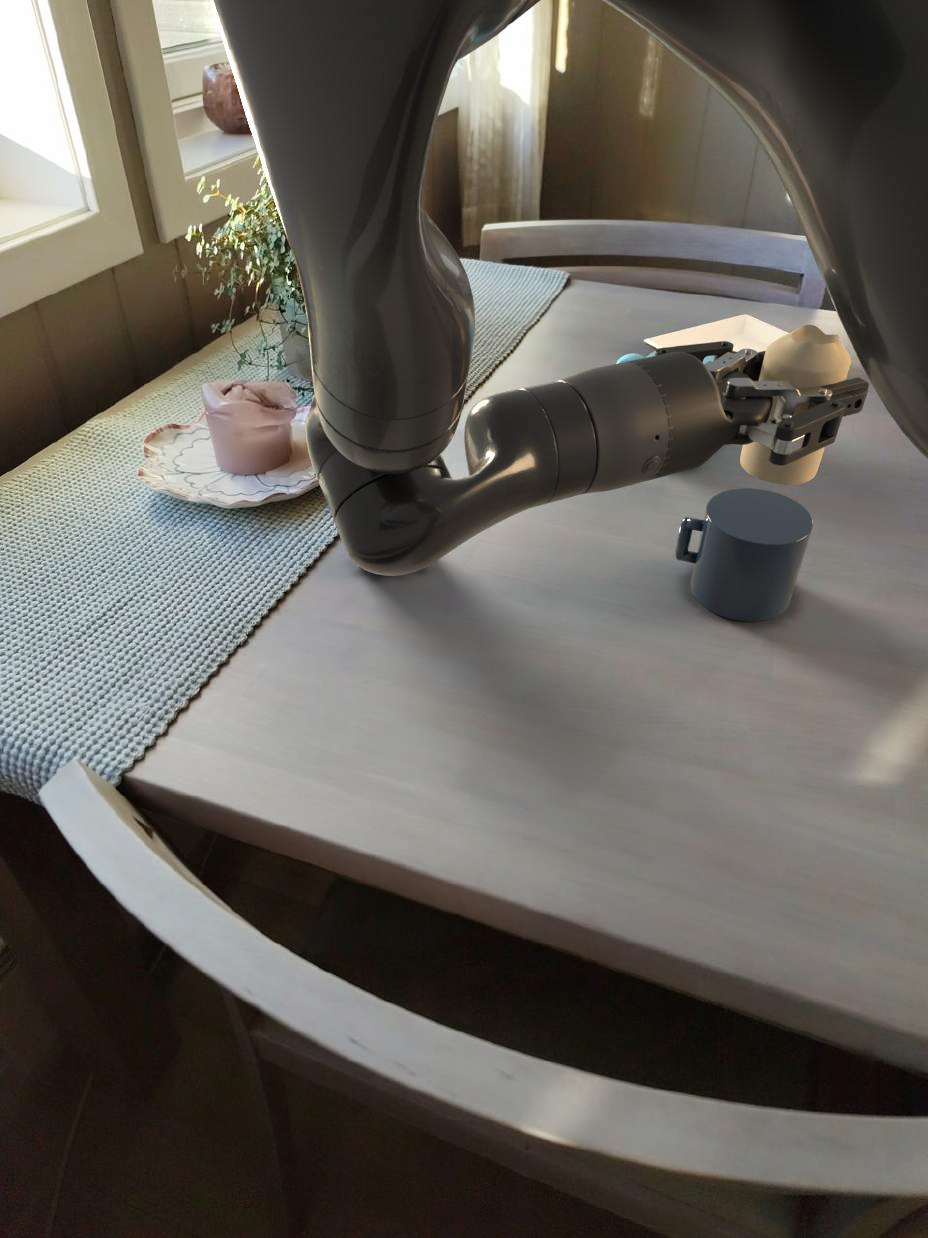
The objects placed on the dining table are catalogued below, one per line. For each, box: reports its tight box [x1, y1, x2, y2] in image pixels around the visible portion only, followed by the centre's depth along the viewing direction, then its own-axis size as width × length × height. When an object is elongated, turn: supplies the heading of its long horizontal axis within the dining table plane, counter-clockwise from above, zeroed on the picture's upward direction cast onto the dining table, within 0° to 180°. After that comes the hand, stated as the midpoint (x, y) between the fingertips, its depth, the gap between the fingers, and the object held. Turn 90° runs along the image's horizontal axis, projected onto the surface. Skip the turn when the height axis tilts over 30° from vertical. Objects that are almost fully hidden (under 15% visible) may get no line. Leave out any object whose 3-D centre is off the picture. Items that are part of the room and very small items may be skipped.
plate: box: [643, 314, 790, 353], centre depth 114 cm, size 19×19×2 cm
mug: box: [674, 487, 814, 623], centre depth 75 cm, size 10×9×8 cm
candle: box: [739, 324, 852, 486], centre depth 60 cm, size 6×6×10 cm
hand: (827, 376), depth 60 cm, fingers closed on candle, 5 cm apart
